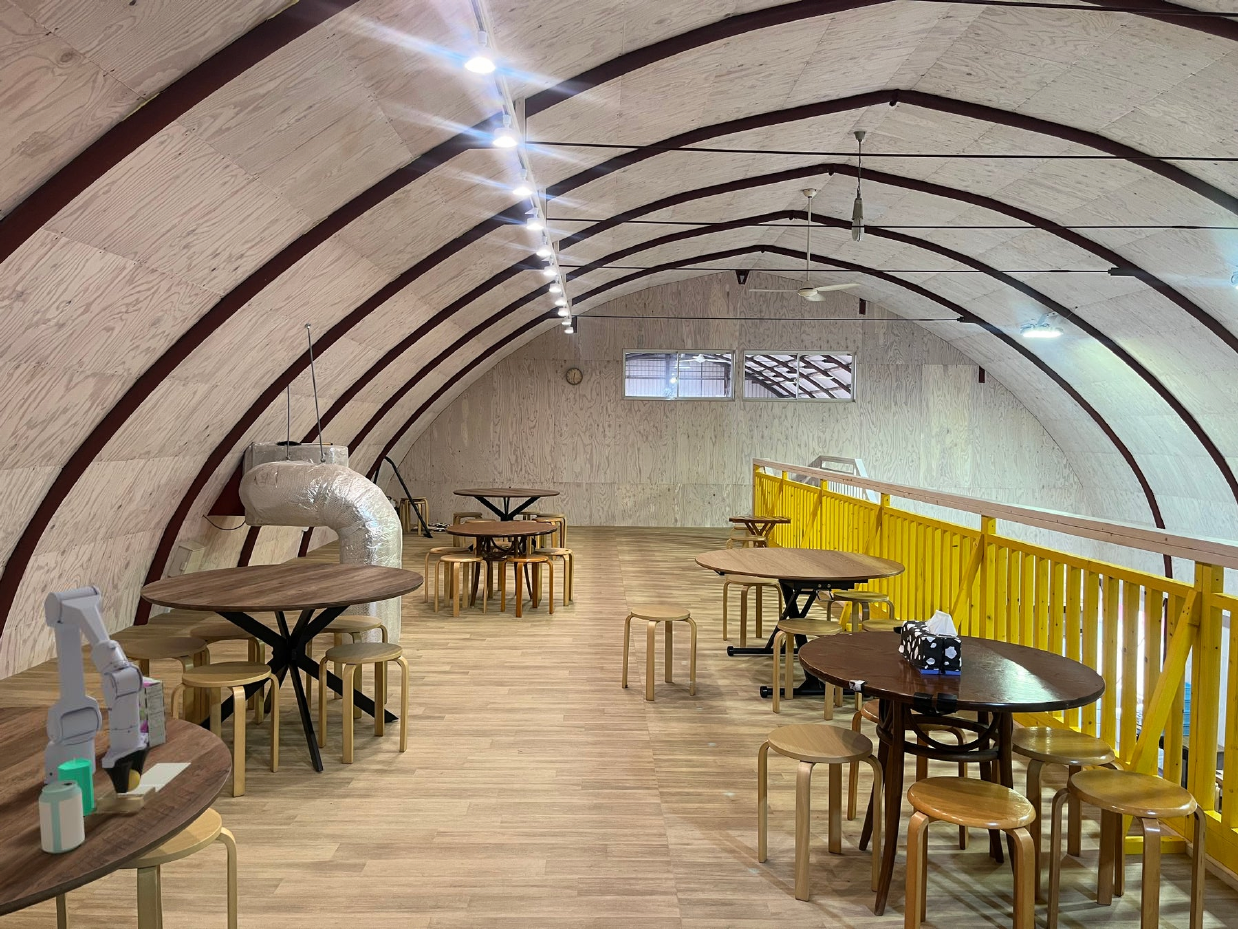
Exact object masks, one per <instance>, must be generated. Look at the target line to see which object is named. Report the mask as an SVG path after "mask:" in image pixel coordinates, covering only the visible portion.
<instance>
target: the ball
mask: <svg viewBox="0 0 1238 929" xmlns="http://www.w3.org/2000/svg"><path fill="white" fill-rule="evenodd" d="M139 784H140V775H139V773H138V772H137V771H135V770H130V774H129V787H128V792H130V791H133V790H134V789H136V788H137V787H138V785H139Z"/></svg>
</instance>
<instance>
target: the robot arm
mask: <svg viewBox="0 0 1238 929" xmlns="http://www.w3.org/2000/svg"><path fill="white" fill-rule="evenodd" d="M102 597H103V596H102V593H101V591H100V589H99V588H98V587H97V586H96V585H93V584H92V585H88V586H84V587H79V588H78V587H77V588H72V589H65V590H60V591H50V592H49V593H48V594H47V596H46V598H45V599H44V602H43V604H44V605H43V606H44V615H45V616H44V617H45V622H46V626H47V627H49V628H53V632H54V638H55V649H56V660H57V661H56V662H57V671H58V672H57V673H58V674H57V675H58V684H59V696H60V697H59V698H58V700H56V701H55V702H54V703H53V704H52V705H51V706H50V707H49V708H48V709H47V721H46V724H45V727H46V728H45V729H46V733H47V737H48V738H49V739H50V741H49V742H48V744H47V745H46V747H45V750H44V771H45V780H44V781H43V784H44V785H48V784H51V783H54V782H57V781H59V777H58V767H59V766H60V765H62V764H64V763H66V762H68V761H72V760H74V757H75V760H76V759H82V758H84V759H87V760H90V761H91V763H92V775H94V774H95V772H97V768H96V753H95V752H96V751H95V737H97V735H98V734H97V733H98V732H99V731H100V729H101V728H102V725H103V717H102V713H101V711H100V706H99V702H98V700H97V699H96V698H94V697H92V696H90V695H87V694H86V685H85V684H86V683H85V673H84V672H85V671H84V661H83V660H84V659H83V650H82V649H83V648H82V641H81V632H82V634H83V635H84V637H85V638H86V639H87V642H88V643H89V645H90V646H91V647H92V649H91V651H90V654H89V655H90V659H91V660H92V662H93V664H94V666H95V667H96V669H97V672H98V674H99V676H100V677H101V681H100V682H101V683H100V688H101V692H102V694H103V695H102V696H103V697H104V704H105V706H106V707H107V711H108V712H107V713H108V715H107V716H108V727H109V728H108V729H109V731H108V732H109V746H110V747H109V748H108V750H107V752H106V754H105V756H103V757H102V758H101V766H102V769H103V770H104V771H105V772H106V773H107V775H108V776H109V779H110V780H111V783H112V785H113V788H115V791H116V794H119V793H127V792H128V787H129V774H130V770H135V771H137V772H138V773H139V775H140V780H141V776H142V775H143V770H144V765H145V762H146V759H147V757H148V755H149V752H150V749H151V747H148V746H146V743H147V742H148V741H149V740H148V733H140V717H139V700H138V693H137V692H140V691H141V690H142V688H143V677H142V676H143V673H142V671H141V670H140V668H139V666H138V665H135V664H134V662H131V661H129V660H128V658H127V656H126V655H125V653H124V650H123V648H122V647H121V645H120V643H119V642H118V641H116V640H115V639H114V640H113V639H110V636H109V633H108V631H107V628H106V625H105V623H104V620H103V617H102V616H101V613H102V608H103V607H102V606H103V598H102Z"/></svg>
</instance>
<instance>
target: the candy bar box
mask: <svg viewBox="0 0 1238 929" xmlns="http://www.w3.org/2000/svg"><path fill="white" fill-rule="evenodd" d="M142 677H143V688H142V690H141V691H140V692H137V693H138V700H139V717H140V733H148V740H149V741H148V742H147V743H146V746H148V747H150V748H153V747H156V746H159V745H163V744H165V743H167V730H166V729H167V727H166V726H167V725H166V724H167V722H166V712H165V711H166V710H165V709H166V708H165V695H164V694H165V692H164V681H162V680H159V679H155V678H151V677H147V676H144V675H142Z"/></svg>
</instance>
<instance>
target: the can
mask: <svg viewBox="0 0 1238 929" xmlns="http://www.w3.org/2000/svg"><path fill="white" fill-rule="evenodd" d="M38 809H39V821H40V822H39V824H40V839H41V841H40V842H41V849H42V850H43V851H44V852H47V853H49V854H63V853H66V852H69V851H72V850H75V848H78V847H79V845H81V844H83V842H84V841H85V836H86V835H85V823H84V820H85V819H84V817H83V805H82V790H81V788H80V787H79V786H78V785H77V782H76V781H74V780H63V781H57V782H54V783H51V784H45V786H43V787H42V789H41V794H40V796H38Z"/></svg>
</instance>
